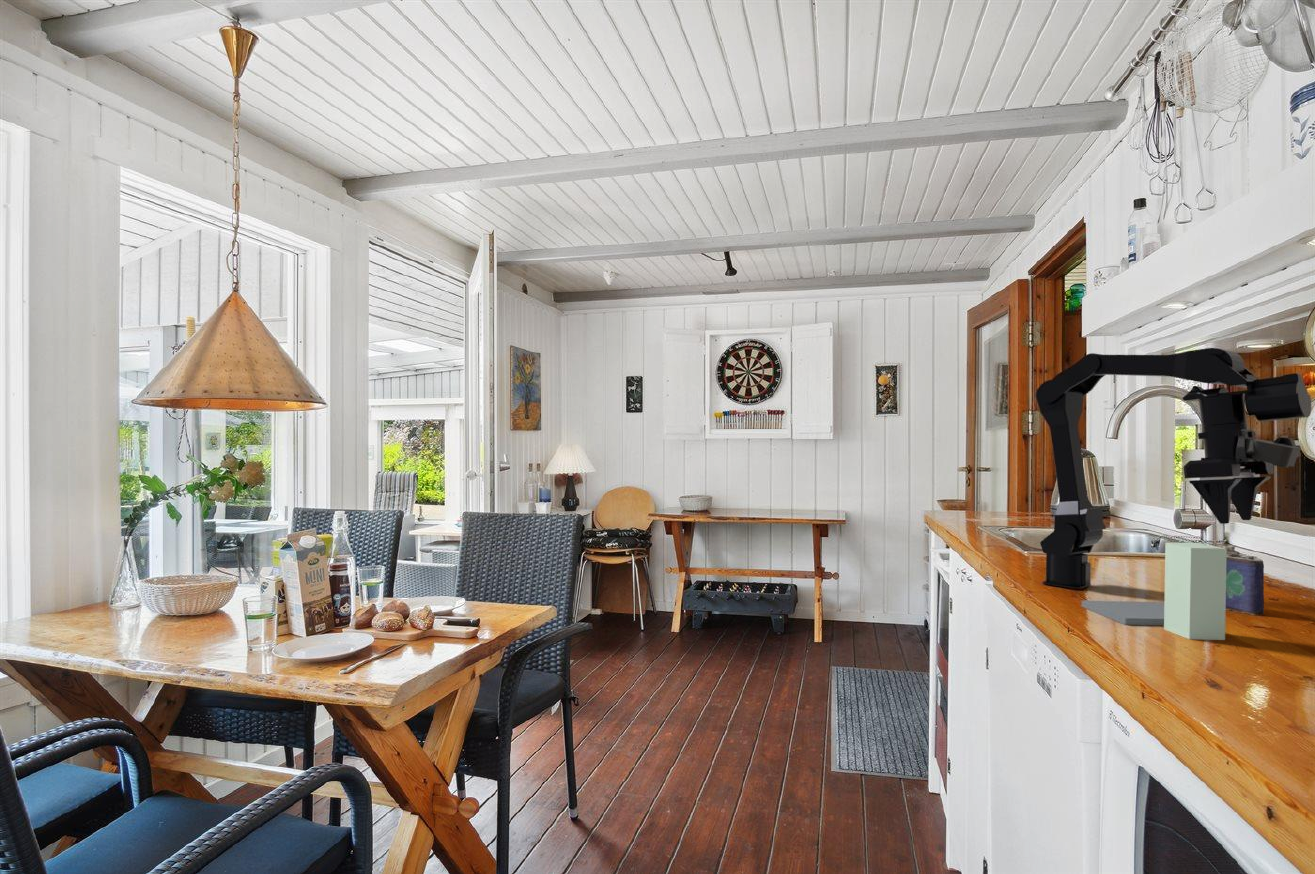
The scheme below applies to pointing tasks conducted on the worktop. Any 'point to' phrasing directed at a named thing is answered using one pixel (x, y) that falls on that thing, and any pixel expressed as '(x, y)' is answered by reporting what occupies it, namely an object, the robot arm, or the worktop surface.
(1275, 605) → the worktop surface
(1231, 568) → the clover slab
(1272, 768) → the worktop surface
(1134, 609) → the slate mat
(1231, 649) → the worktop surface
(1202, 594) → the sage block
